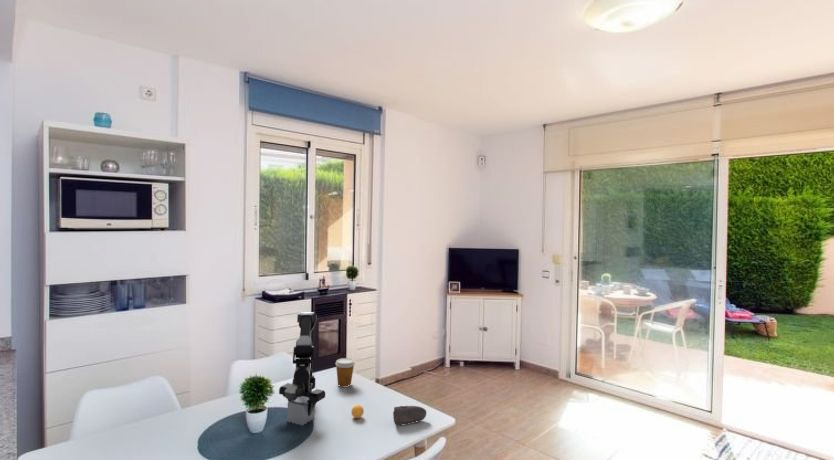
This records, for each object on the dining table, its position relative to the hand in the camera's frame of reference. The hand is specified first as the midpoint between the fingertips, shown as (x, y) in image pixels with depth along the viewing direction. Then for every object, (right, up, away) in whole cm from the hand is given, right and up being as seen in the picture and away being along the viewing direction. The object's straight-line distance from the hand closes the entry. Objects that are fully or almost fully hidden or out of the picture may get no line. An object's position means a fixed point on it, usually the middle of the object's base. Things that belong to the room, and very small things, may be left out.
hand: (301, 413), depth 171 cm
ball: (+22, -1, +4) cm, 22 cm away
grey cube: (0, -3, 0) cm, 2 cm away
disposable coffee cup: (+10, -3, +40) cm, 41 cm away
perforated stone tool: (+43, -5, +1) cm, 44 cm away
